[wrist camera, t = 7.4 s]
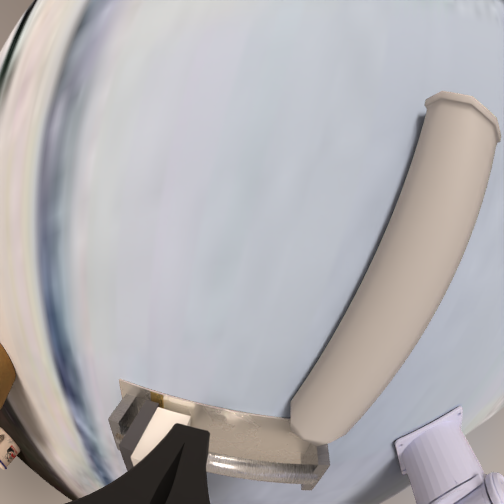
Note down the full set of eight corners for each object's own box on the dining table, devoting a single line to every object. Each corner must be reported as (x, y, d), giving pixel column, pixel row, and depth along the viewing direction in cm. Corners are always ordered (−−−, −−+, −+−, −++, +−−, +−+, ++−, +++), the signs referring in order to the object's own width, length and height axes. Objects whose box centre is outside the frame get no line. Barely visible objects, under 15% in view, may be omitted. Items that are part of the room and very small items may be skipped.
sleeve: (190, 416, 20) (169, 470, 14) (190, 449, 21) (173, 497, 15) (157, 406, 20) (130, 456, 14) (161, 441, 22) (140, 486, 16)
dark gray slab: (158, 403, 21) (132, 451, 15) (162, 440, 22) (142, 483, 16) (146, 399, 21) (118, 445, 15) (151, 436, 22) (130, 478, 16)
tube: (345, 453, 16) (512, 142, 10) (287, 460, 15) (475, 87, 8) (322, 408, 21) (456, 135, 15) (268, 407, 20) (412, 93, 13)
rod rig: (337, 421, 20) (344, 462, 15) (311, 467, 22) (313, 501, 17) (119, 378, 21) (95, 410, 17) (130, 430, 23) (112, 459, 18)
